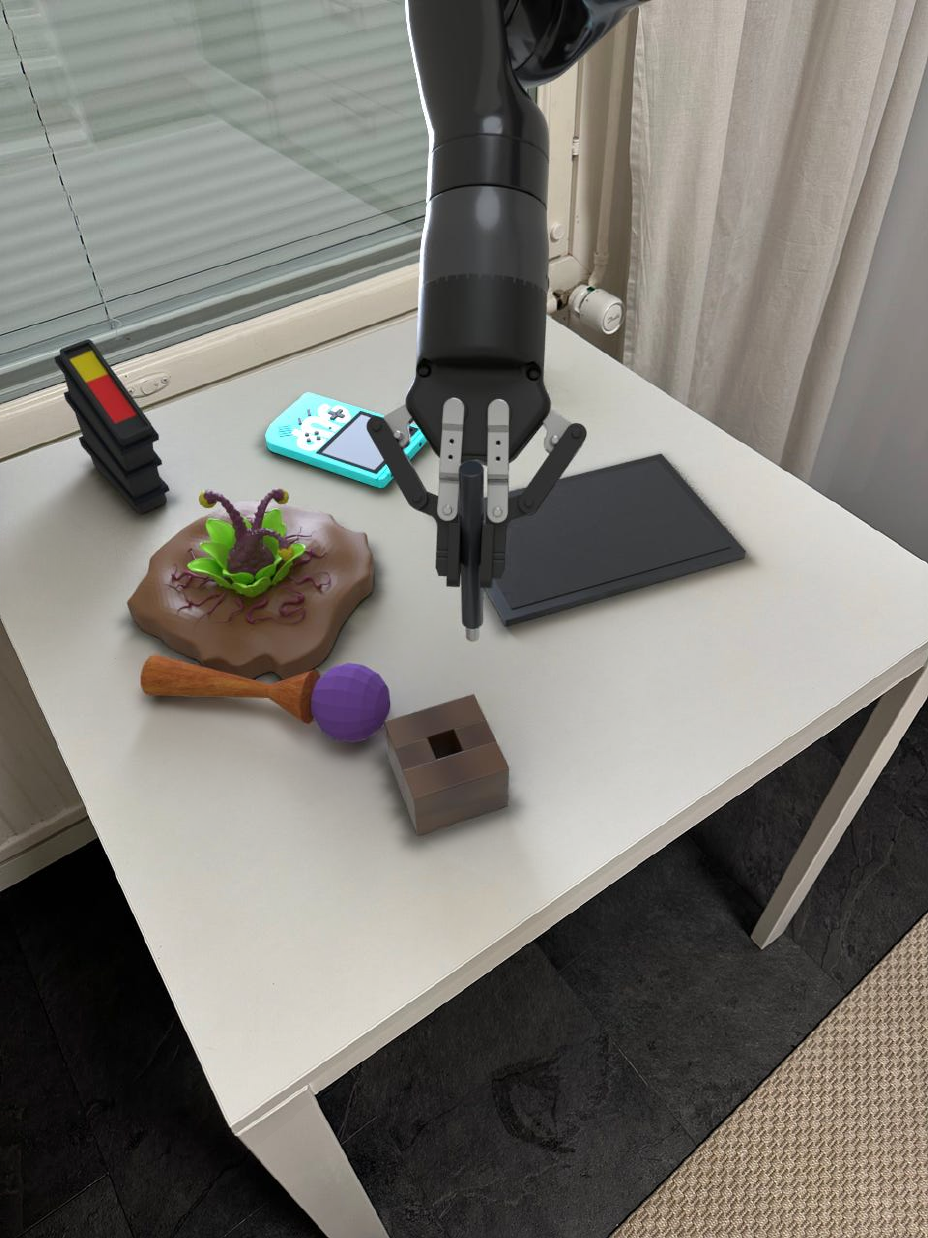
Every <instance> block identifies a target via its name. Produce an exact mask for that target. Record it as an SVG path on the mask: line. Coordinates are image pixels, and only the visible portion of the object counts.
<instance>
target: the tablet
mask: <svg viewBox="0 0 928 1238" xmlns="http://www.w3.org/2000/svg"><path fill="white" fill-rule="evenodd" d="M526 488H527V486H526V487H523V488H518V489H514V490H509V498H511V497H514V496H518V495H521V494H522V493H523V492H524V490H525V489H526ZM486 511H487V496H486V497H484V524H486ZM746 554H747V551H746V550H745V548H744V547H743V546H742V545H741V544H740V542H738V541H737V539H736V538H735V537H734V535H732V533H731V532H730V531H729V530H728V528H727V527H726V526H725V525H724V524H723V523H722V522H721V520H720V519H719V518H718V517H717V516H716V515H715V514H714V513H713V511H712V510H711V508H709V507H708V506H707V504H706V503H705V502H704V501H703V500H702V499H701V497H700V496H699V495H698V494H697V492H695V490H694V489H693V488H692V487H691V486H690V485H689V484H688V482H687V481H686V480H685V479H684V478H683V476H682V475H681V474H680V473H679V472H678V471H677V469H676V468H675V467H674V466H673V465H672V464H671V462H670V461H669V460H668V459H667V458H666V457H665V455H663V453H657V454H653V455H650V456H645V457H642V458H638V459H634V460H633V459H632V460H630V461H626V462H622V463H617V464H614V465H610V466H606V467H601V468H598V469H594V470H590V471H585V472H582V473H578V474H574V475H570V476H565V477H560V479H559V480H558V481H557V483H556V484H555V486H554V487H553V489H552V490H551V492H550V493H549V495H548V496H547V497H546V499H545V500H544V502H543V503H542V505H541V506H540V508H539V509H538V511H537V512H536V513H535V514H534V515H532V516H525V517H522V518H519V519H516V520H514V521H512V522H511V523H510V524H509V525H508V527H507V533H506V555H505V571H504V573H503V576H502V578H501V579H493V586H492V589H489V588H484V590H485V592H486V593H487V596H488V597H489V600H490V601H491V603H492V605H493V607H494V608H495V610H496V612H497V614H498V617H500V620H501V622H502V623H503V625H504V626H505V627H508V626H512V625H515V624H519V623H522V622H525V621H530V620H533V619H536V618H540V617H543V616H547V615H550V614H554V613H557V612H560V611H564V610H567V609H570V608H574V607H578V606H581V605H585V604H589V603H591V602H596V601H598V600H599V601H600V600H603V599H606V598H609V597H612V596H616V595H619V594H623V593H627V592H629V591H634V590H636V589H640V588H643V587H648V586H651V585H655V584H657V583H662V582H665V581H668V580H671V579H675V578H679V577H683V576H686V575H689V574H693V573H696V572H699V571H704V570H706V569H709V568H713V567H714V568H715V567H717V566H720V565H724V564H727V563H730V562H735V561H737V560H742V559H744V558H745V557H746Z"/></svg>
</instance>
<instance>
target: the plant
mask: <svg viewBox="0 0 928 1238" xmlns="http://www.w3.org/2000/svg"><path fill="white" fill-rule="evenodd" d="M272 500H274V502H272ZM289 500H290V494H289V492H288V491H287V490H286V489H284V488H280V487H277V488H273V489H271V491H270V492H268V493H267V494H266V495H264V497H263V498H262V499H261V500H239V501H236V502H235V503H231V501H230V500H229V499H228V498H227V497H225V496H224V495H223V494H222V493H220V492H219V491H215V490H213V489H205V490H204V491H202V492H201V493H200V494H199V496H198V503H199V504H200V506H201V507H203V508H205V509H212V508H213V507H215V506H216V505H217V504H218V503H220V504H221V506H222V508H221V509H218V510H216V511H213V512H211V513H209V514H206V515H204V516H202V517H200V518H197V519H196V520H194V521H192V522H191V523H190V524H188V525H187V526H185V527H184V528H182V529H180V530H179V531H178V532H177V533H176V534H175V535H173V536H172V538H171V539H169V540H168V541H167V542H165V544H163V545H162V546H161V547H159V549H158V550H156V551H155V552H154V553H153V555H151V557H150V558H149V562H148V570H147V573H146V574H145V576H144V578H143V579H142V580H141V582H140V583H139V585H138V586H137V587H136V589H135V591H134V592H133V593H132V595H131V596H130V597H129V598H128V600H127V601H126V605H127V608H128V611H129V614H130V616H131V619H132V620H133V621H134V622H135V623H136V624H137V625H138V627H140V629H141V631H143V632H144V633H146V634H149V635H151V636H153V637H156V638H158V639H160V640H162V641H163V642H164V643H165V644H166V645H167V646H168V647H169V648H170V649H171V650H173V651H175V652H177V653H179V654H181V655H183V656H185V657H188V658H190V659H194V660H196V661H198V662H200V664H201V665H202V667H206V668H210V669H214V670H217V671H221V672H225V673H229V674H233V675H237V676H240V677H244V678H248V679H252V680H254V679H255V678H257V677H259V676H261V675H263V674H265V673H270V672H273V673H275V674H276V675H277V676H279V677H280V678H281V679H282V680H285V679H288V678H291V677H294V676H297V675H300V674H303V673H306V672H309V671H312V670H314V669H315V668H316V667H318V666H319V665H320V664H321V663H322V662H324V661H325V659H326V658H327V657H328V655H329V654H330V652H331V651H332V649H333V647H334V645H335V643H336V640H337V638H338V635H339V633H340V630H341V629H342V626H343V625H344V623H345V622H346V621H347V619H348V618H349V617H350V615H351V614H352V613H353V611H354V610H355V609H356V607H357V606H358V605H359V604H360V602H361V601H363V600H364V599H365V598H366V597H368V596H369V595H370V594H371V593H372V592H373V590H374V580H373V579H374V575H375V564H374V555H373V552H372V550H371V548H370V546H369V539H368V534H367V533H366V532H364V531H355V530H351V529H347V528H345V527H343V526H342V525H341V524H339V523H338V522H337V520H336V519H335V518H334V516H333V515H332V514H330V513H328V512H324V511H319V510H311V509H310V510H309V509H304V508H299V507H293V506H290V505H286V504H287V503H288V502H289Z"/></svg>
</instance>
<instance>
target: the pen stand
mask: <svg viewBox="0 0 928 1238" xmlns="http://www.w3.org/2000/svg"><path fill="white" fill-rule="evenodd" d="M475 695H476V694H474V693H472V694H469V695H465V696H462V697H459V698H458V697H457V698H456V699H451V700H449V701H445V702H442V703H439V704H436V705H431V706H429V707H426V708H421V709H419V710H415V711H412V712H409V713H406V714H403V715H399V716H396V717H392V718H390V719H386V721H384V725H383V727H384V734H385V740H386V750H387V755H388V757H387V758H388V761H389V764H390V766H391V769H392V772H393V774H394V777H395V780H396V782H397V785H398V788H399V791H400V794H401V796H402V799H403V802H404V805H405V807H406V809H407V812H408V815H409V818H410V820H411V823H412V825H413V827H414V831H415V833H416V836H418V837H419V836H422V835H425V834H428V833H430V832H434V831H435V830H439V829H442V828H445V827H449V826H452V825H454V824H457V823H460V822H463V821H466V820H470V819H472V818H475V817H478V816H481V815H484V814H487V813H490V812H493V811H496V810H498V809H502V808H505V807H507V806H508V804H509V784H510V783H509V782H510V781H509V780H510V766H509V765H508V762H507V760H506V758H505V756H504V754H503V751H502V750H501V748H500V745H499V743H498V741H497V739H496V737H495V735H494V733H493V731H492V728H491V727H490V724H489V723H488V720H487V719H486V716H485V714H484V711H483V710H482V708H481V706H480V704H479V701H478V699H477V698H476V696H475Z"/></svg>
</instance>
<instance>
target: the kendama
mask: <svg viewBox="0 0 928 1238" xmlns="http://www.w3.org/2000/svg"><path fill="white" fill-rule="evenodd" d="M140 686H141V689H142V691H143V693H144V694H145V695H146V696H161V697H162V696H163V697H201V698H203V697H205V698H206V697H207V698H243V699H244V698H245V699H246V698H247V699H269V700H270V701H272V702H273V703H274V704H275V705H277V706H279V707H280V708H282V709H283V710H285V711H286V712H288V713H289V714H290V715H292V716H293V717H295V718H296V719H297V720H299V721H300V722H301V723H303V724H305V725H310V724H311V723H313V721H315V723H316V724H317V726H318V727H319V729H320V731H321V732H322V733H324V734H325V735H327V736H329V737H330V738H331V739H333V740H336V741H342V742H347V743H357V742H361V741H365V740H368V739H370V738H371V737H372V736H373V735H375V734H376V733H377V732H378V731H380V730H381V729H382V728H383V727H384V721H386V720H388V716H389V714H390V711H391V696H390V689H389V687H388V685H387V684H386V682H385V680H384V678H383V677H382V676H381V675H380V673H378V672H376V671H375V670H373V669H371V668H370V667H368V666H366V665H364V664H361V663H360V664H359V663H353V662H346V663H341V664H339V665H336V666H333V667H331V668H329V669H328V670H327V671H326V672H325V673H324V674H322V675H321V674H320V672H319V671H318V670H316V669H311V670H309V671H307V672H305V673H303V674H300V675H297V676H294V677H291V678H288V679H282V680H279V681H276V682H274V683H267V682H263V681H259V680H256V679H248V678H244V677H240V676H237V675H233V674H229V673H225V672H221V671H217V670H214V669H210V668H206V667H203V665H202V666H201V665H198V664H194V663H190V662H186V661H182V660H179V659H175V658H171V657H168V656H163V655H159V654H156V653H155V654H152V655H149V657H147V658H146V660H145V661H144V663H143V666H142V668H141V672H140Z"/></svg>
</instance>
